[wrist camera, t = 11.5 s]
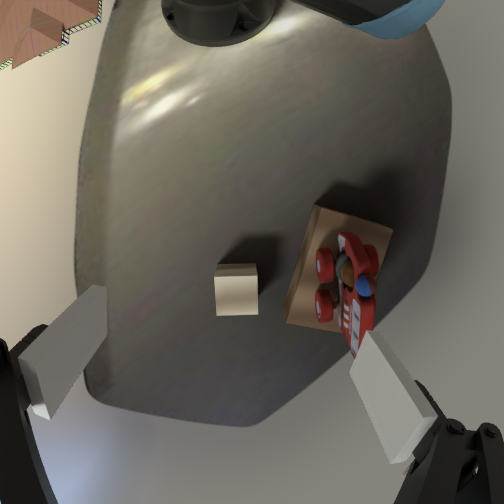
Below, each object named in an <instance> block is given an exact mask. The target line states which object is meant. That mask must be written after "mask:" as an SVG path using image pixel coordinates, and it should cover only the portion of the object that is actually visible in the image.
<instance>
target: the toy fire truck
mask: <svg viewBox="0 0 504 504" xmlns="http://www.w3.org/2000/svg"><path fill="white" fill-rule="evenodd" d="M378 270H379V258H378V253H377V250H376V248H375V247H374V246H373V245H371V244H365V245H363V244H362V242H361V240H360V238H359V237H358V236H357V235H355V234H353V233H352V232H339V234H338V257H337V260H334V257H333V254H332V251H331V249H330V248H319V249H318V250H317V251H316V272H317V277H318V280H319V281H320V283H331V282H332V281H333V280H334V276H335V275H337V277H338V298H337V301H333V300H332V297H331V294H330V291H329V290H328V289H320V290H317V291H316V293H315V310H316V316H317V319H318V321H319V322H320V323H327V322H331V321H332V319H333V313H334V312H333V309H337V308H338V323H339V327H340V329H341V331H342V333H343V334H344V336H345V338H346V340H347V342H348V344H349V345H350V348H351V353H352V355H353V357H354V359H355V358H356V355H357V353H358V350H359V348H360V345H361V343H362V340H363V338H364V335H365V333H366V330H370V331H373V327H374V314H375V307H376V300H375V294H374V292H375V291H376V288H377V284H376V281H375V279H374V277H376V275H377V273H378Z"/></svg>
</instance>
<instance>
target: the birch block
mask: <svg viewBox="0 0 504 504" xmlns="http://www.w3.org/2000/svg"><path fill="white" fill-rule="evenodd" d="M214 280H215V296H216V311H217V315H255V314H258V278H257V270H256V263H246V264H217V268H216V272H215V276H214Z"/></svg>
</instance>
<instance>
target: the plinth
mask: <svg viewBox="0 0 504 504" xmlns="http://www.w3.org/2000/svg"><path fill="white" fill-rule="evenodd" d="M339 232H352V233H353V234H355V235H357V236H358V237H359V238H360V240H361V242H362V244H363V245H365V244H371V245H373V246H374V247H375V248H376V250H377V253H378V258H379V270H378V273H377V275H376V277H374V279H375V281H376V280H377V277H378V274H379V271H380V268H381V265H382V263H383V260H384V257H385V254H386V251H387V248H388V245H389V242H390V238H391V235H392V232H393V230H392V229H390V228H388V227H386V226H383V225H381V224H378V223H375V222H372V221H369V220H366V219H363V218H359V217H356V216H353V215H350V214H346V213H343V212H340V211H336V210H333V209H330V208H326V207H323V206H319V205H316V204H314V205H313V209H312V212H311V216H310V219H309V223H308V226H307V230H306V233H305V236H304V240H303V243H302V247H301V250H300V253H299V257H298V260H297V263H296V266H295V270H294V273H293V276H292V279H291V283H290V286H289V289H288V292H287V295H286V298H285V302H284V305H283V308H282V311H283V314H284V318H285V322H286V323H290V324H296V325H301V326H306V327H312V328H317V329H323V330H328V331H334V332H340V333H342V331H341V329H340V327H339V323H338V308H337V309H333V312H334V313H333V319H332V321H331V322H327V323H320V322H319V321H318V319H317V316H316V310H315V293H316V291H317V290H320V289H328V290H329V291H330V294H331V297H332V300H333V301H337V298H338V277H337V275H335V276H334V280H333V281H332V282H331V283H320V281H319V280H318V277H317V272H316V251H317V250H318V249H319V248H330V249H331V251H332V254H333V257H334V260H337V257H338V234H339Z"/></svg>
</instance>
